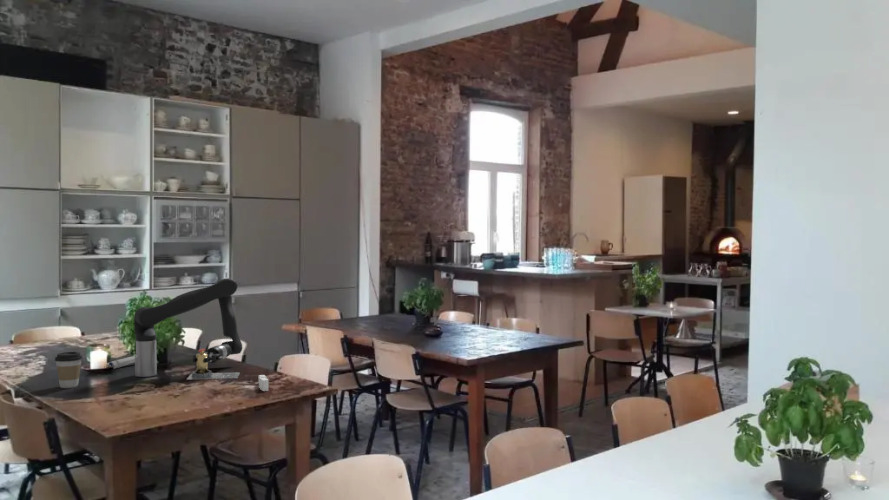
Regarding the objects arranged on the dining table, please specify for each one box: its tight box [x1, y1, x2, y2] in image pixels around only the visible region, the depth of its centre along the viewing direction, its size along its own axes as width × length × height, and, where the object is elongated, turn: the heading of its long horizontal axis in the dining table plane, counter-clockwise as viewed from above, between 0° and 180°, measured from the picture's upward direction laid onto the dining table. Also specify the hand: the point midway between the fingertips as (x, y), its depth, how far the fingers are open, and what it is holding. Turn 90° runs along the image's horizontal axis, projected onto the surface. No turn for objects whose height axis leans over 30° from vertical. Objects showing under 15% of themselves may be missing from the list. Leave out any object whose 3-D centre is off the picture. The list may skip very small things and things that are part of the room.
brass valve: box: [195, 348, 209, 373], centre depth 346 cm, size 5×5×11 cm
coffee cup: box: [54, 351, 83, 389], centre depth 329 cm, size 11×11×15 cm
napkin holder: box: [258, 374, 269, 392], centre depth 329 cm, size 15×11×6 cm
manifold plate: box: [186, 369, 241, 380], centre depth 347 cm, size 23×13×4 cm, turn 100°
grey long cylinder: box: [108, 355, 135, 370], centre depth 379 cm, size 5×7×25 cm
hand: (199, 360), depth 343 cm, fingers closed on brass valve, 5 cm apart
